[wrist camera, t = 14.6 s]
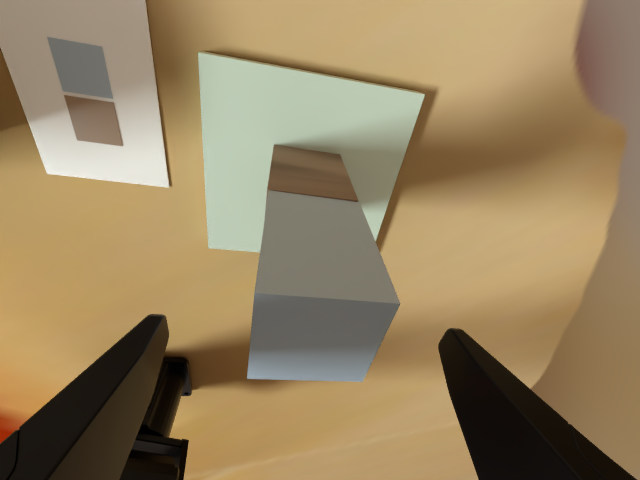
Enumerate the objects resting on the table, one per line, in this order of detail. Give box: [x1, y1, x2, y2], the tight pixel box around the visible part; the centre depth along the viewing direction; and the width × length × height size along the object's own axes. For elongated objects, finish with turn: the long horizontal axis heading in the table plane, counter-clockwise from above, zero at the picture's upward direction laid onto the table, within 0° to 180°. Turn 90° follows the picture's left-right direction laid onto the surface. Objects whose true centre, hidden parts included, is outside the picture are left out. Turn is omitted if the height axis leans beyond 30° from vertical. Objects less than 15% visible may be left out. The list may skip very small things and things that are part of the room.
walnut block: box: [265, 145, 359, 214], centre depth 16 cm, size 4×4×6 cm
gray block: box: [247, 190, 400, 382], centre depth 11 cm, size 4×4×6 cm
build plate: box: [198, 51, 425, 252], centre depth 19 cm, size 12×12×1 cm
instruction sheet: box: [0, 0, 169, 187], centre depth 16 cm, size 10×7×1 cm
